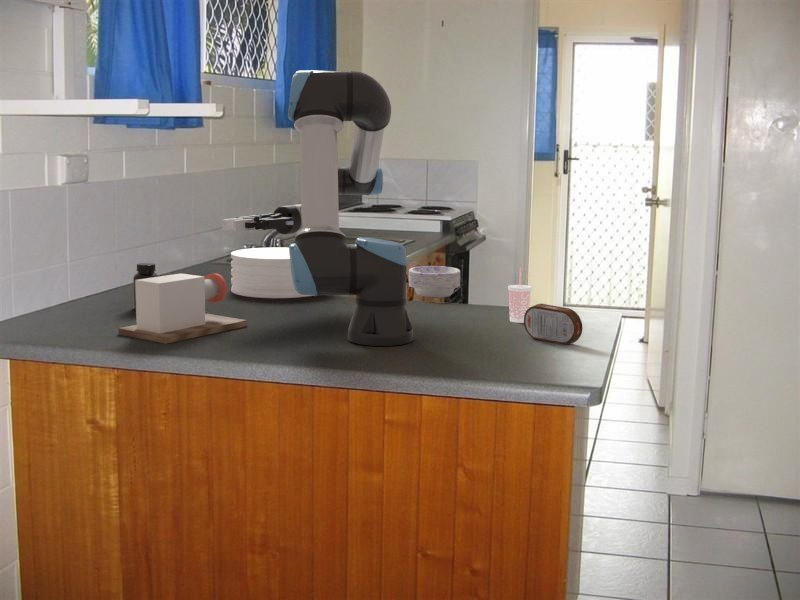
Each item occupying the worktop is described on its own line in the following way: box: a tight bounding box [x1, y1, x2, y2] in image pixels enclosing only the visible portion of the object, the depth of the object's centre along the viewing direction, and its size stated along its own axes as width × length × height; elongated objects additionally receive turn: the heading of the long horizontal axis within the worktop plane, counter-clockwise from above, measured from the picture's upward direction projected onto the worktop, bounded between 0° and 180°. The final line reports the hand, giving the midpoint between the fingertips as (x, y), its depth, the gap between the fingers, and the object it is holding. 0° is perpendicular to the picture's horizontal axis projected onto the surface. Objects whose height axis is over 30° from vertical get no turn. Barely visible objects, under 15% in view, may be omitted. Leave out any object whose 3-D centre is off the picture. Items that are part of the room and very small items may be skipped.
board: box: [117, 312, 248, 345], centre depth 236 cm, size 26×16×2 cm, turn 145°
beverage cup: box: [507, 266, 533, 324], centre depth 254 cm, size 6×6×14 cm
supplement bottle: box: [132, 262, 160, 310], centre depth 263 cm, size 7×7×12 cm
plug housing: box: [135, 273, 206, 333], centre depth 232 cm, size 14×8×12 cm, turn 145°
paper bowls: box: [408, 265, 461, 299], centre depth 291 cm, size 15×15×8 cm
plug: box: [204, 273, 228, 304], centre depth 238 cm, size 14×7×7 cm, turn 145°
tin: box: [523, 303, 583, 345], centre depth 230 cm, size 15×3×8 cm, turn 47°
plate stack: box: [230, 247, 314, 299], centre depth 296 cm, size 28×28×12 cm
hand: (229, 225), depth 245 cm, fingers open, 3 cm apart
